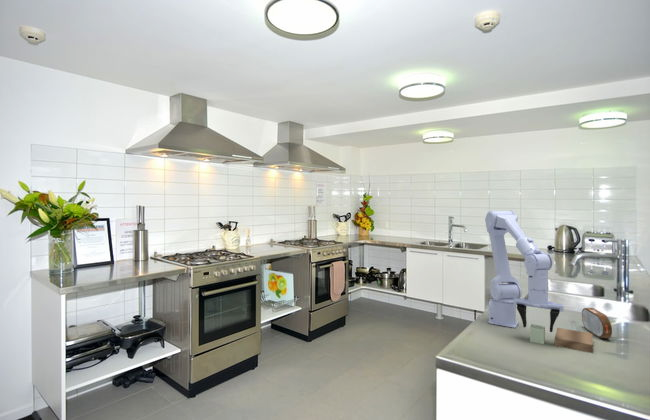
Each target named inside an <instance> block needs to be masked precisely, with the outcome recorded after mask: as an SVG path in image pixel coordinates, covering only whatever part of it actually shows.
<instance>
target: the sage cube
mask: <svg viewBox="0 0 650 420" xmlns="http://www.w3.org/2000/svg"><path fill="white" fill-rule="evenodd" d="M545 342H546V326H545V325H539V324H534V323H531V325H530V326H529V343H535V344H540V345H545Z"/></svg>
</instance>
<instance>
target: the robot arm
mask: <svg viewBox="0 0 650 420" xmlns="http://www.w3.org/2000/svg"><path fill="white" fill-rule="evenodd" d="M484 221H485V222H484V223H485V227H486V232H487V233H488V234H489V241H490V247H491V252H492V258H493V259H492V260H493V265H494V270H495V276H494V277H493V278H492V279H491V280H490V289H489V291H490V295H491V298H489V302H488V321H487V322H488V323H487V324H492V325H497V326H503V327H509V328H513V329H516V328H517V326H518V324H519V321H518V320H517V312H518V313H519V316H520V318H521V321H522V325H523V326H522V327H523V328H527V323H528V322H527V307H532V308H538V309H545V310H550V311H549V315H550V316H549V317H550V319H549V321H550V322H549V333H553V331H554V325H555V323H556V321H557V318H558V317H559V314H560V313H561V312H563V313H564V311H565V310H564V309H565V305H564V304H561V303H556V302H552V301H549V290H548V289H549V270H552V267H553V259H552V257H551V255H550V253H547V252H544V251H542V250H541V249H540V248H539V247H538V245H537V244H536V242H535V241H534V240H533V238H532V237H530V236H526V234H525V233H524V231H523V230H522V228H521V227H520V225H519V223H518V216H517V214H516V212H515V211H514V210H488V212H487V213H486V215H485V218H484ZM507 233H509V235H511V237H512V238H513V239H514V241H516V243H515V247H516V248H517V250H518V251H519V253H520V254H521V256H522V257H523V258H524V260H523V263H524V266H525V269H526V274H527V278H528V281H527V282H528V284H527V285H528V286H527V288H528V291H527V293H528V297H527V298H522V295H523V294H522V293H523V292H522V291H523V290H522V288H521V286H520V284H519V280H518V279H517V278H516V277H514V276H513V275H512V274H511V267H510V263H509V258H508V257H509V256H508V252H507V250H508V249H507V247H506V241H505V235H506V234H507Z"/></svg>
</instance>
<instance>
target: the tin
mask: <svg viewBox="0 0 650 420" xmlns="http://www.w3.org/2000/svg"><path fill="white" fill-rule="evenodd" d="M581 319H582V320H581V321H582V324H583V326H584V328H585V329H586V330H587V331H589V333H592V335H593V336H595V337H597V338H598V339H610V338H612V335H613V329H612V328H613V327H612V323H611V321H610V319H609V317H608V315H606V314H605V313H603V312H602V311H599V310H598V309H595V308H594V307H584V308H582V310H581Z"/></svg>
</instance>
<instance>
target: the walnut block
mask: <svg viewBox="0 0 650 420" xmlns="http://www.w3.org/2000/svg"><path fill="white" fill-rule="evenodd" d="M593 336H594V334H593V333H591V332H585V331H580V330H573V329H567V328H564V327H563V328H561V327H557V328H556V332H555V336H554V346H556V347H561V348H566V349H570V350H575V351H576V350H577V351H581V352H585V353H589V354H590V353H591V354H593V353H594V341H593V340H594V338H593Z"/></svg>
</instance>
